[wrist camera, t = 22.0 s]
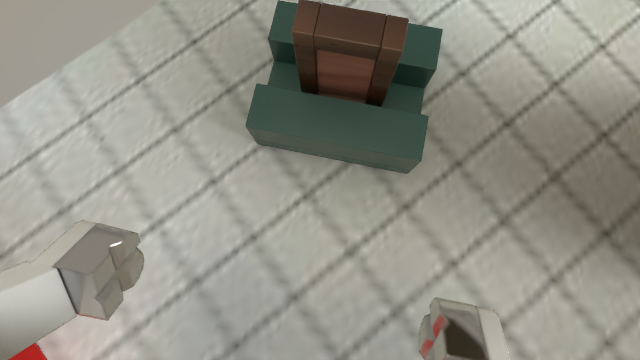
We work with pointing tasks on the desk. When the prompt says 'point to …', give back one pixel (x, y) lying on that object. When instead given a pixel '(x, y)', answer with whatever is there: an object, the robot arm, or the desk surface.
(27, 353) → the toy clock
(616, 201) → the desk surface
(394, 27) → the frame
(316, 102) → the holder
